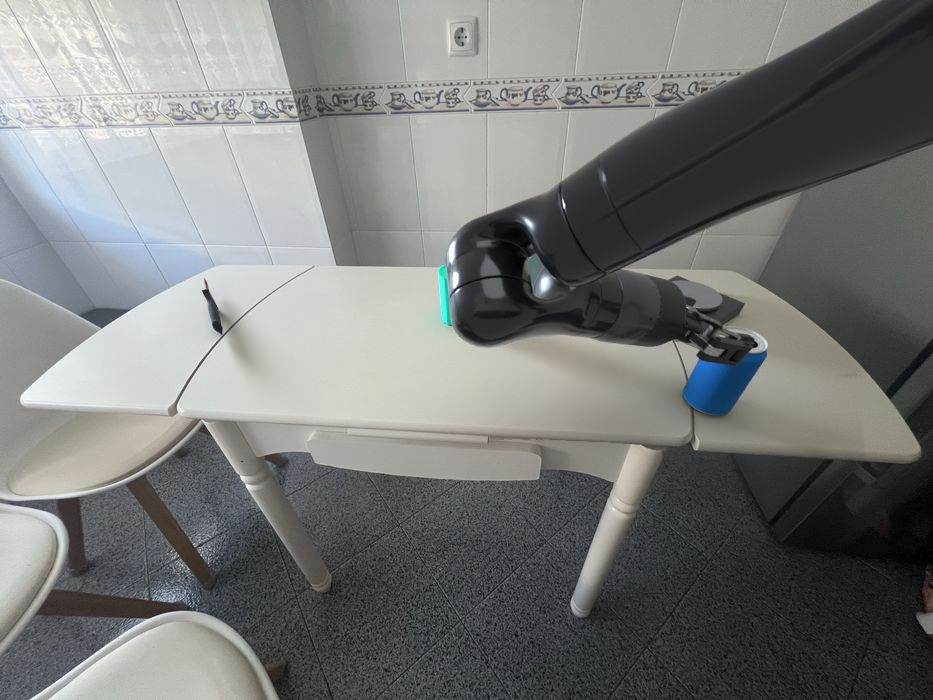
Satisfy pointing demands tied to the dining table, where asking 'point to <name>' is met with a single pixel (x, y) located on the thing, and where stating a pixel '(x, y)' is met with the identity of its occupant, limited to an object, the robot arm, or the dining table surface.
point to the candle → (444, 295)
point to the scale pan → (700, 295)
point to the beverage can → (724, 378)
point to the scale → (724, 312)
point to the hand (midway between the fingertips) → (716, 323)
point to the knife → (213, 310)
